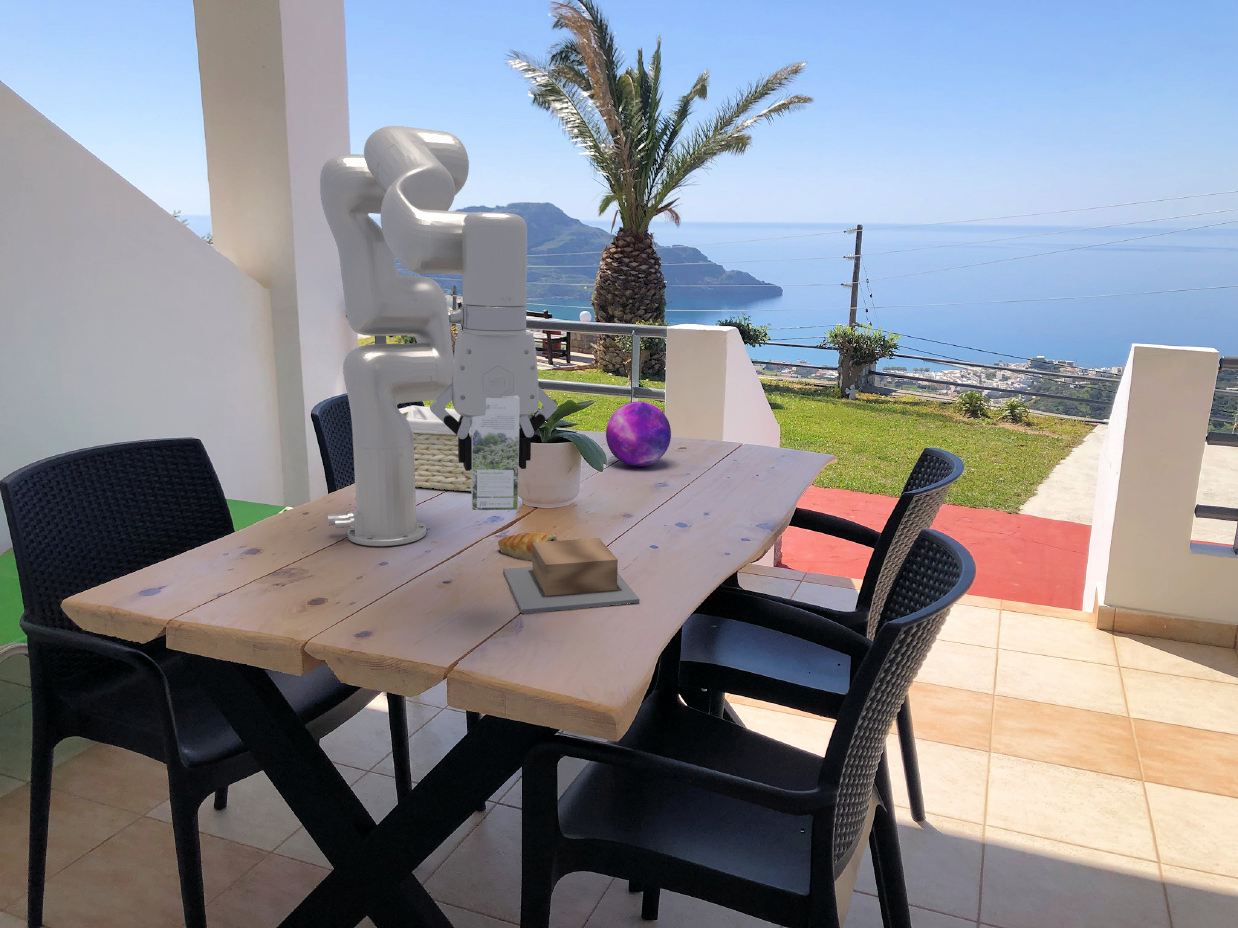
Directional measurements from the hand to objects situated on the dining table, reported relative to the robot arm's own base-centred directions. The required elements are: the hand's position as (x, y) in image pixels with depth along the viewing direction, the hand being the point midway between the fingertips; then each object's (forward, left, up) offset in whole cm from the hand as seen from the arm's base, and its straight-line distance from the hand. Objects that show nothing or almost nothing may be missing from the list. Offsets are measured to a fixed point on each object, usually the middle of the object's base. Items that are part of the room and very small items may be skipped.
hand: (494, 466), depth 105 cm
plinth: (+12, +8, -20) cm, 25 cm away
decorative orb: (+44, +80, -20) cm, 94 cm away
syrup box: (0, 0, -5) cm, 5 cm away
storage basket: (-1, +74, -20) cm, 77 cm away
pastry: (+9, +23, -20) cm, 32 cm away
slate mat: (+11, +7, -20) cm, 24 cm away
